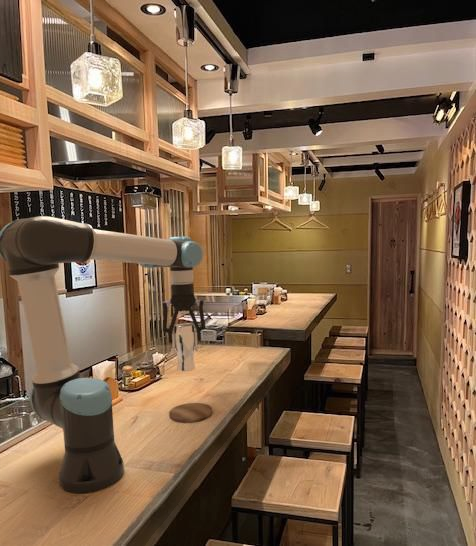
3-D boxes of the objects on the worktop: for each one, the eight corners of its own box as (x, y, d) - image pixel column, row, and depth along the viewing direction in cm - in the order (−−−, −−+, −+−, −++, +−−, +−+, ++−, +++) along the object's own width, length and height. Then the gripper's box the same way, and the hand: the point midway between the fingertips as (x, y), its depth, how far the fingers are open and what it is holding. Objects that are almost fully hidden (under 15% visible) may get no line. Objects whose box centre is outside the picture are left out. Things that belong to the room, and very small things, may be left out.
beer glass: (193, 372, 146) (191, 326, 145) (172, 371, 147) (170, 326, 146) (198, 366, 153) (196, 322, 152) (179, 366, 154) (177, 323, 153)
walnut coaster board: (191, 426, 138) (191, 422, 137) (160, 417, 146) (160, 413, 146) (220, 411, 149) (220, 407, 149) (189, 403, 157) (189, 400, 157)
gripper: (210, 280, 154) (213, 346, 155) (152, 283, 150) (155, 351, 152) (212, 282, 146) (215, 351, 148) (151, 285, 143) (155, 356, 144)
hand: (185, 351), depth 150 cm, fingers closed on beer glass, 7 cm apart
